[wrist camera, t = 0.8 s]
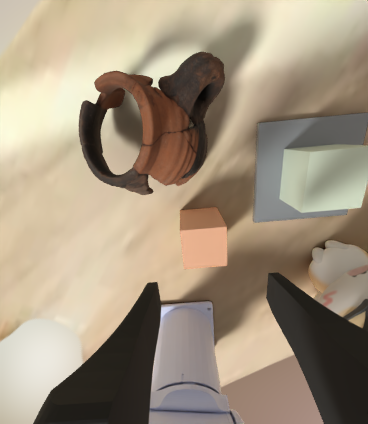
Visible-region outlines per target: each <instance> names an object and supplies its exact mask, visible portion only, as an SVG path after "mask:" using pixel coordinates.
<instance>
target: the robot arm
mask: <svg viewBox="0 0 368 424" xmlns="http://www.w3.org/2000/svg"><path fill="white" fill-rule="evenodd" d="M266 298H267V301H268V303H269V306H270V308H271V311H272V313H273V315H274V317H275V319H276V321H277V323H278V324H279V326H280V328H281V330H282V332H283V334H284V335H285V337H286V339H287V341H288V343H289V345H290V346H291V348H292V350H293V352H294V354H295V356H296V358H297V360H298V362H299V365H300V367H301V369H302V371H303V374H304V376H305V378H306V380H307V383H308V385H309V388H310V390H311V392H312V395H313V397H314V400H315V402H316V405H317V407H318V410H319V412H320V415H321V417H322V420H323V422H324V424H368V331H367V330H365V329H363V328H361V327H359V326H357V325H355V324H354V323H352V322H350V321H348V320H346V319H345V318H343V317H341V316H340V315H338V314H336V313H335V312H333V311H331V310H330V309H328V308H327V307H325V306H324V305H322V304H321V303H319V302H318V301H316V300H315V299H313V298H312V297H310V296H309V295H308V294H306V293H305V292H303V291H302V290H301V289H299V288H298V287H297V286H295V285H294V284H293V283H291V282H290V281H289V280H288V279H286V278H285V277H284V276H282V275H281V274H280V273H278V272H277V273H269V274H268V286H267V297H266ZM154 358H155V359H154ZM153 365H154V367H153ZM152 374H153V375H152ZM33 424H245V423H244V422H243V420H242V419H241V417H240V416H239V414H238V412H237V411H236V410H234V409H229V404H228V398H227V395H222V394H221V388H220V381H219V375H218V369H217V362H216V356H215V347H214V325H213V305H212V302H210V301H205V302H192V303H179V304H166V305H161V301H160V295H159V289H158V283H157V282H153V283H147V285H146V286H145V288H144V290H143V292H142V293H141V295H140V297H139V298H138V300H137V301H136V303H135V304H134V306H133V307H132V309H131V310H130V312H129V313H128V315H127V316H126V317H125V319H124V320H123V321H122V323H121V324H120V325H119V327H118V328H117V329H116V330H115V331H114V333H113V334H112V335H111V336H110V337H109V338H108V339H107V341H106V342H105V343H104V344H103V345H102V346H101V347H100V348H99V349H98V350H97V351H96V352H95V353H94V354H93V355H92V356H91V357H90V358H89V359H88V360H87V361H86V362H85V363H84V364H82V365H81V367H79V368H78V369H77V370H76V371H75V372H74V373H72V374H71V375H70V376H69V377H68V378H66V379H65V380H64V381H63V382H61V383H60V384H59V385H58V386H56V387H55V388H54V389H53V390H52V391H51V392H50V394H49V395H48V397H47V399H46V400H45V402H44V404H43V406H42V407H41V409H40V411H39V413H38V415H37V417H36V419H35V421H34V423H33Z"/></svg>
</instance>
